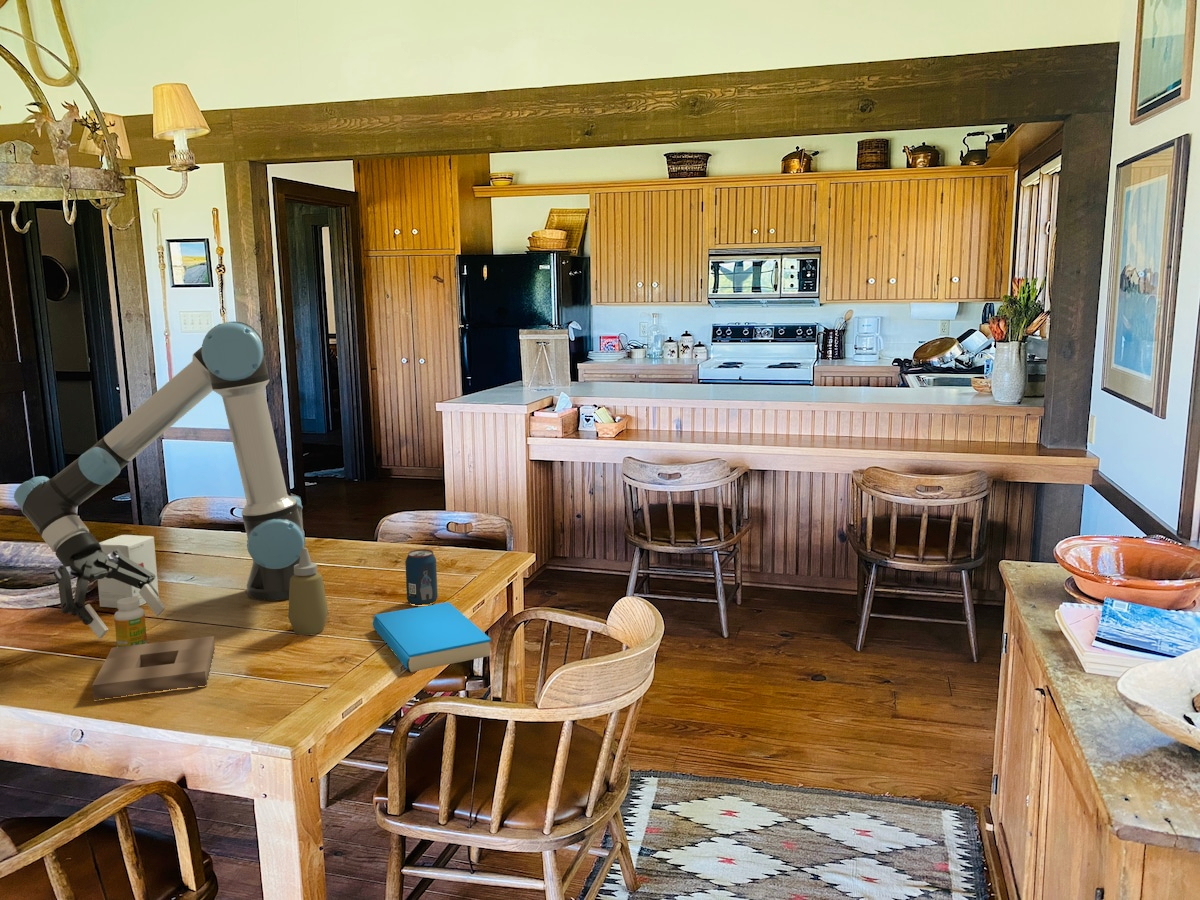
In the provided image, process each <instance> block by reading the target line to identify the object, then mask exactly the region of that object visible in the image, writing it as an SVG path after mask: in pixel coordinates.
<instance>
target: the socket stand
mask: <svg viewBox="0 0 1200 900" xmlns="http://www.w3.org/2000/svg"><path fill="white" fill-rule="evenodd" d="M215 648H216V647H215V636H214V635H212V636H211V635H210V636H203V637H202V636H201V637H196V638H188V639H187V638H186V639H179V640H178V639H177V640H167V641H158V642H151V643H147V644H140V645H131V646H122V647H117V646H115V647H111V649H110V651H109V653H108V655H107V657H106V658H105V661H104V663H103V664H102V666H101V668H100V670H99V672H98V674H97V676H96V678H95V679H94V681H93V682H92V685H91V686H92V696H93V701H94V700H99V699H105V698H113V697H121V696H126V695H127V696H128V695H133V694H140V693H148V692H155V691H163V690H169V689H170V690H171V689H177V688H188V687H198V686H205V685H207V686H208V682H207V680H208V681H209V678H208V676H209V677H210V674H209V672H210V673H211V669H212V665H211V663H212V664H213V661H212V659H213V660H214V656H213V654H214V655H215V652H214V650H215ZM215 651H216V650H215ZM210 668H211V669H210Z"/></svg>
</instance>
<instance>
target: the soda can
mask: <svg viewBox="0 0 1200 900" xmlns="http://www.w3.org/2000/svg"><path fill="white" fill-rule="evenodd" d="M404 565H405V584H406V588H405V589H406V599H407V602H408V603H409V604H410V603H411V604H415V605H422V604H430V603H433V602H435V603H436V601H437V599H438V596H439V595H438V577H437V576H438V574H437V573H438V572H437V558H436V556H435V554H434V551H433V550H431V549H427V548H426V549H425V548H424V549H423V548H422V549H413V550H410V551H409V552H407V557H406V559H405V564H404Z"/></svg>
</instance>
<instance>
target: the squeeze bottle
mask: <svg viewBox="0 0 1200 900" xmlns="http://www.w3.org/2000/svg"><path fill="white" fill-rule="evenodd" d="M309 553H310V552H309V550H308V547H304V548H302V549H301V554H300V561H299V564H296V565H295V566H294V574H295V575H293V576H292V577H291V578H290V588H289V599H288V612H287V613H288V614H287V617H288V620H289V623H290V625H291V628H292V630H293V632H294V633H295V635H299V636H312V635H315V634H319V633H321V632H323V631H324V629H325V627H326V626H325V625H326V622H327V618H328V614H329V609H328V604H327V603H328V602H327V597H326V590H325V586H324V578H323V575H322V574H321V573H319V572H318V564H317V563H315V562H312V559H311V556H310V554H309ZM311 634H312V635H311Z"/></svg>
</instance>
